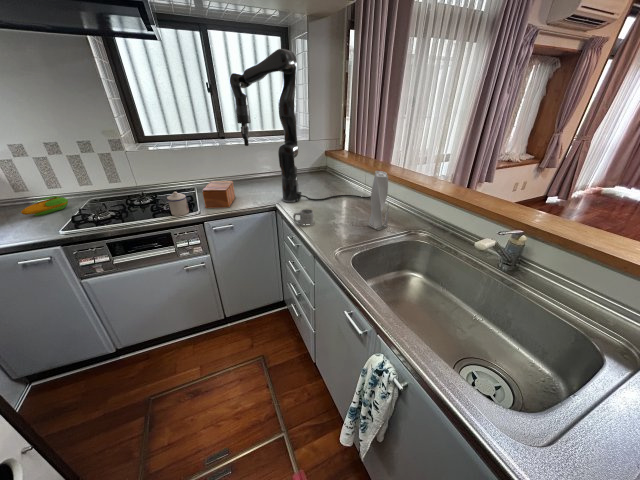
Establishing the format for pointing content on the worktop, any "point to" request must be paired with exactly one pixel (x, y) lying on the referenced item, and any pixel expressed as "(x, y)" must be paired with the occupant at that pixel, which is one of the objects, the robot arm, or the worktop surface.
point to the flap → (219, 183)
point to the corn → (46, 206)
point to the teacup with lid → (178, 204)
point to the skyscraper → (379, 201)
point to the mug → (305, 217)
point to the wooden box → (218, 196)
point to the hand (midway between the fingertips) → (246, 145)
